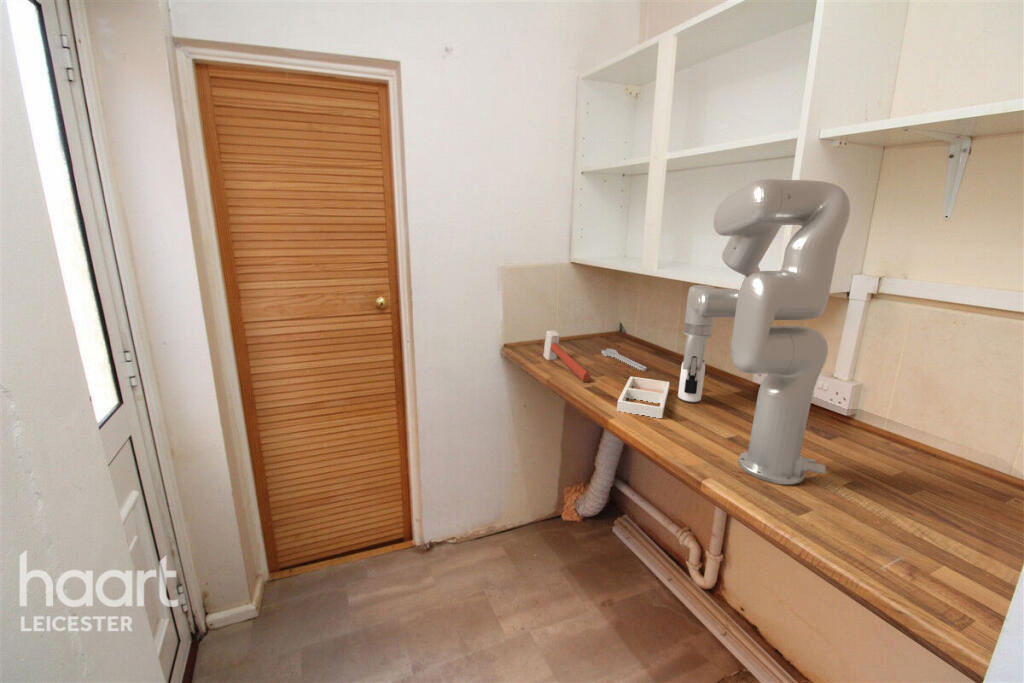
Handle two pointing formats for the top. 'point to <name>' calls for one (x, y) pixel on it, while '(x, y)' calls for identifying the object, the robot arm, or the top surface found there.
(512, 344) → the top surface
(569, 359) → the mallet
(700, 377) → the can
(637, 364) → the adjustable wrench
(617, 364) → the top surface
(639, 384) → the caddy
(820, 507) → the top surface
